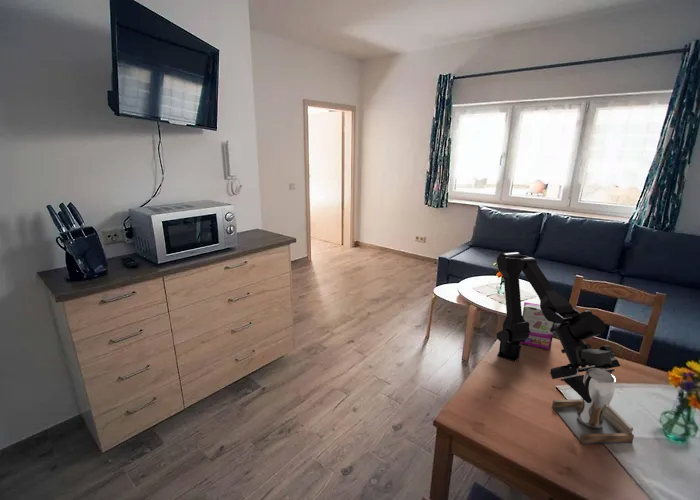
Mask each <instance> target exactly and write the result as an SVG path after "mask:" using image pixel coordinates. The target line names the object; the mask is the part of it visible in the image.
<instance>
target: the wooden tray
mask: <svg viewBox="0 0 700 500" xmlns="http://www.w3.org/2000/svg"><path fill="white" fill-rule="evenodd" d="M551 407H552V408H553V410H554V412H555V413H557V414H558V416H559V417H560V419H561V420H562V421H563V422H564V424H565V425H566V426H567V427H568V428H569V430H570V431H571V432H572V434H573V435H574V436H575V437H576V439H577V440H579V442H580V444H582V445H585V444H586V445H587V444H589V445H590V444H594V445H595V444H631V443H632V444H633V440H634V439H635V438H634V437H635V435H634V433H633V430H634V427H633V426H631V424H629V422H627V421H626V420H625V418H623V416H622V415H620V414H619V413H618V411H616V409H614V408H613V407H612V406H611V404H609V405H608V407H607V409H606V410H605V412H604V415H603V426H602V427H600V428H592V427H589V426H587V425H585V424H583V423H582V422H581V421H580V420H579V419H578V417H577V412H578V411H579V409H580V407H581V399H553V400H552V405H551Z"/></svg>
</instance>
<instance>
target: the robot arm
mask: <svg viewBox="0 0 700 500" xmlns="http://www.w3.org/2000/svg"><path fill="white" fill-rule="evenodd" d="M496 264H497V269H498V271H499V273H500V274H501V276H502V278H503V283H504V284H503V286H504V298H505V308H506V317H505V319H504V321H503V323H502V329H501V330H500V331H498V332H496V339H497V340H498V341H499V348H498V349H499V350H498V352H497V355H496V356H498V357H501V358H503V359H507V360H510V361H512V362H517V360H518V359H519V358H520V357H521V352H522V344H520V342H525V340H526V339H527V338H528V337H529V333H530V330H529V322H526V321H525V320H524V318H523V317H522V315H523V310H522V303H521V302H522V299H521V287H520V276H521V274H522V273H523V275H524V276H525V278H526V279H527V280H528V282H529V284H530V285H531V287H532V288H533V290H534V292H535V294H536V295H537V297H538V298H539V301H540V302H539V305H540V308H541V310H542V312H543V314H544V316H545V318H546V319H547V320H548V321H551V322H555V323H554V324H552V327H551V329H550V332H553V333H556V335H557V337H558V339H559V342H560V343H561V346H562V348H563V349H561V350H560V351H561V354H565V355H566V357H567V360H568V362H569V363H567V364H565V365H560V366H557V367H553V368H550V372H549V374H550V377H551V379H552V380H556V379H560V381H561V382H564V383H565V384H567V385H568V386H569V387H570V388H571V389H573V390H574V392H576V394H577V395H579V397H580V398H581V397H582V398H583V399H584V400H585V401H586V402H587V403H591V400H590V397H589V395H588V393H587V390H586V387H585V385H584V383H583V379H584V376H585V374H580V373H583V372H586V370H587V369H588V368H599V369H602V370H605V371H607V372H609V373H611V374H612V373H613V372H615V370H616V369H614V368H618V367H621V364H620V361H619V360H618V359H617V358H615V357H616V355H615V353H614V350H613V348H612V347H611V346H610V345H606V344H605V345H602V346H601V345H600V346H599V348H592V345H591V344H590V343H586V342H585V340H588V339H591V338H594V337H598V336H601V335H603V334H605V332H606V323H605V322H604V320H602V319H601V318H600V317H599V316H597V315H595V314H593V312H592V310H585V311H582V312H580V311H579V310H577V309H576V308H575V307H573V305H572V303H570V302H569V301H568V299H566V298H565V296H563V295H561V294H559V293H558V292H557V291H556V290H555V289H554V288H553V286H552V284H551V283H550V281H549V280H548V279H547V277H546V275H545V274H544V273H543V271H542V270H541V268H540V267H539V265H538V262H537V259H536V258H534V257H531V256H528V255H523V254H520V252H518V251H513V252H502V253H500V254H498V256H497V258H496ZM612 375H613V374H612Z"/></svg>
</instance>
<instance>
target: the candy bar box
mask: <svg viewBox="0 0 700 500" xmlns="http://www.w3.org/2000/svg"><path fill="white" fill-rule="evenodd" d="M522 308H523V310H522V317H523V318H524V320H525V321H526V322H529V330H530V333H529V337H528V338H527V339H526V340H525V342H520V345H525V346H529V347H534V348H538V349H543V350H548V351H551V350H552V349H551V348H552V342H553V336H554V332H550V329H551V327H552V324H554V323H556V322H551V321H548V320H547V319H546V318H545V316H544V314H543V312H542V310H541V308H540V303H539V304H538V303H531V302H526V301H525V302H524V303H523V307H522Z"/></svg>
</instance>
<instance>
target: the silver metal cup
mask: <svg viewBox="0 0 700 500" xmlns="http://www.w3.org/2000/svg"><path fill="white" fill-rule="evenodd" d="M616 382H617V378H616V377H615V376H614V375H613V374H611V373H609V372H607V371H605V370H602V369H599V368H588V369H587V370H586V371H585V373H584V379H583V383H584V385H585V387H586V390H587V393H588V395H589V397H590V400H591V403H587V402H586V401H585V400H584V399H583V398H582V397H581V396H580V398H581V407H580V409H579V411H578V412H577V417H578V419H579V420H580V421H581V422H582V423H583V424H585V425H587V426H589V427H592V428H600V427H602V426H603V415H604V412H605V410H606V409H607V407H608V405H611V404H610V403H611V402H612V399H613V398H614V393H615V390H616Z"/></svg>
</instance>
